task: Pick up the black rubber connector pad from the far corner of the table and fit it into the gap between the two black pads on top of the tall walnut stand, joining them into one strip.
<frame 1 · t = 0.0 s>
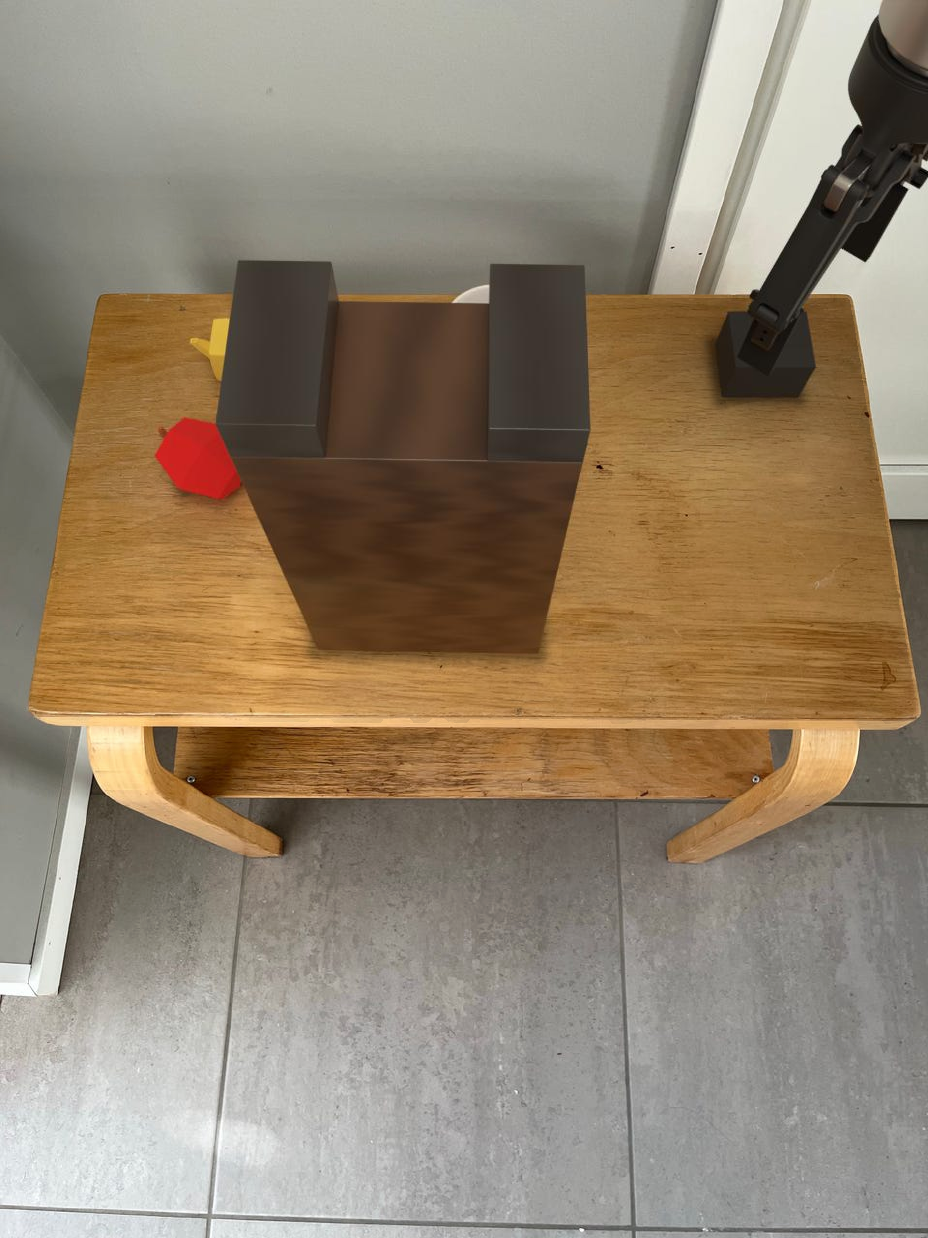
hand: (805, 305, 69), 15 cm above the table, tool pointing down, fingers open, 13 cm apart
mug: (477, 415, 83), on the table
apple: (210, 478, 81), on the table
teapot: (245, 374, 84), on the table
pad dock: (430, 595, 76), on the table
connector pad: (756, 370, 84), on the table
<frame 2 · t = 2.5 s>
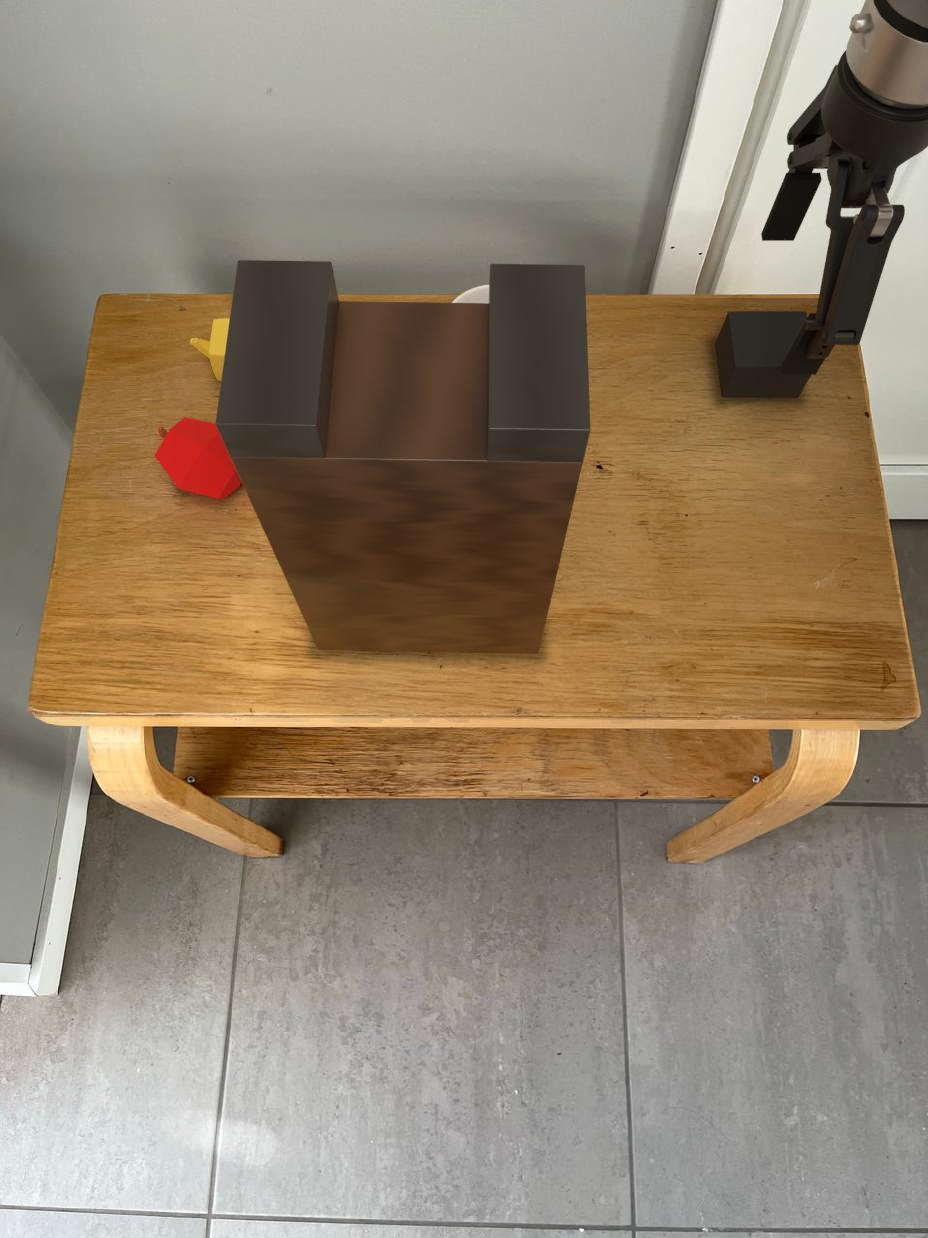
hand: (787, 302, 76), 9 cm above the table, tool pointing down, fingers open, 13 cm apart
nothing on the table moved.
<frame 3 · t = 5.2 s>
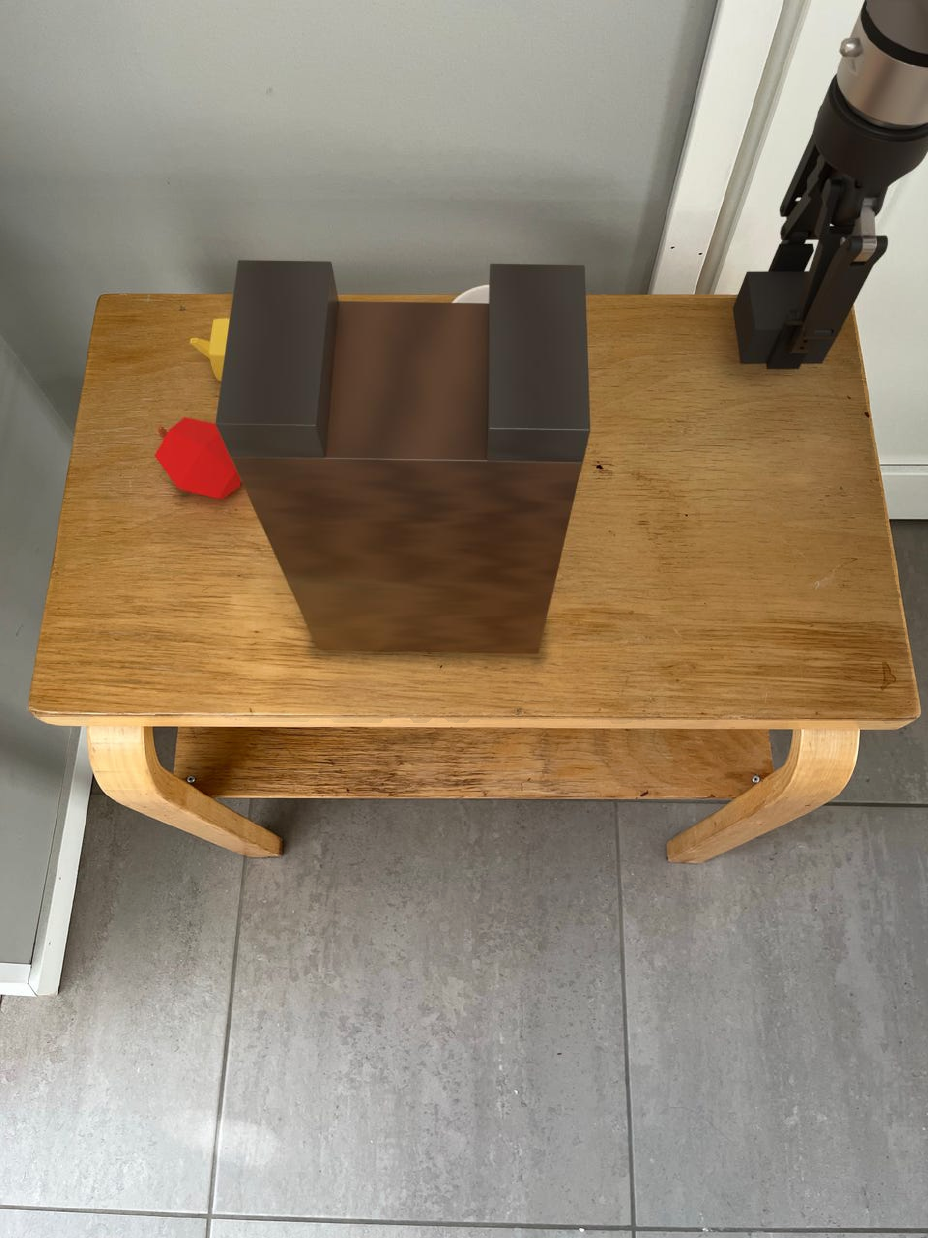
hand: (777, 333, 79), 6 cm above the table, tool pointing down, fingers closed on connector pad, 6 cm apart
connector pad: (776, 335, 79), point 5 cm above the table, touching gripper
everything else where it was.
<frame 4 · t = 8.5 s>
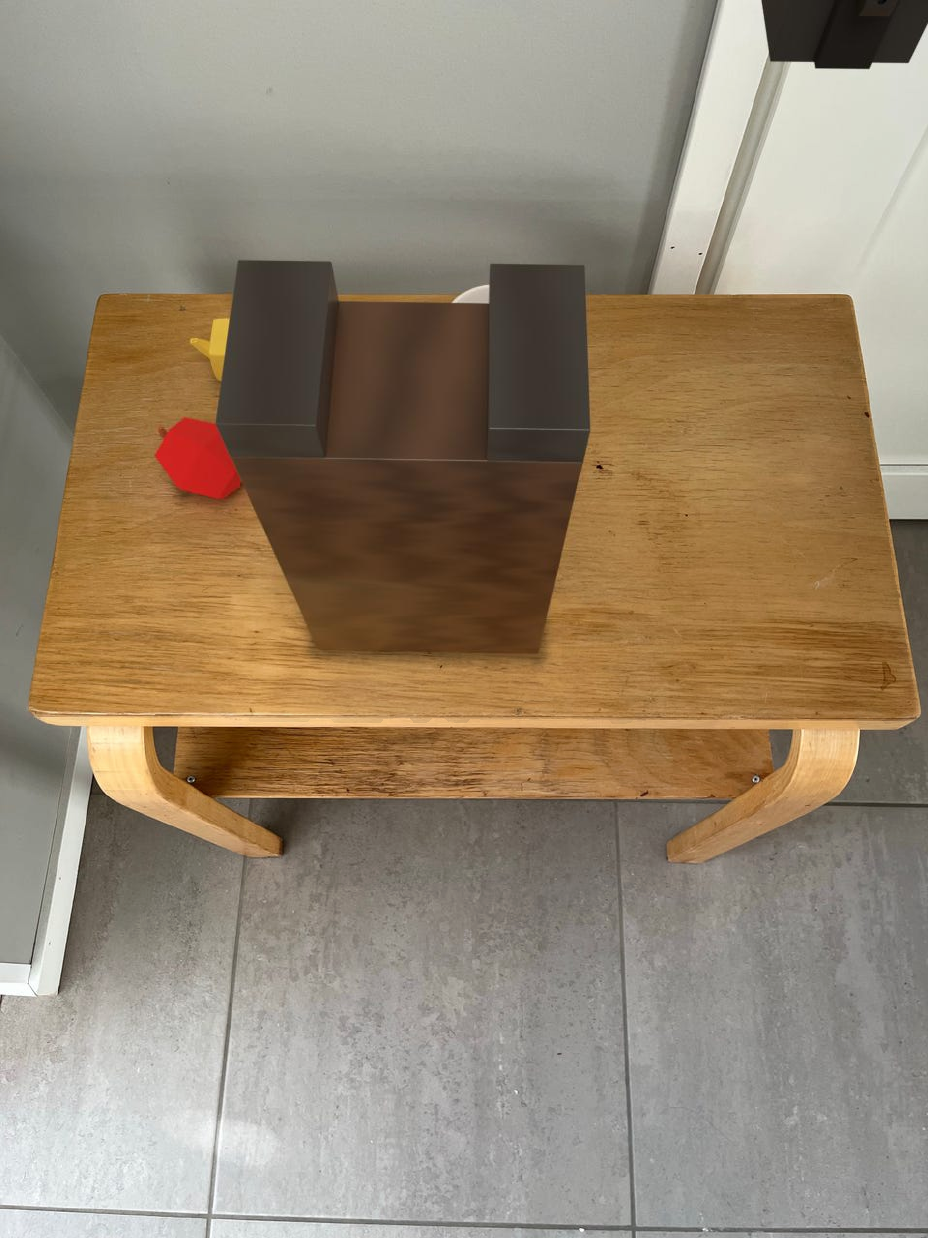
hand: (832, 15, 47), 38 cm above the table, tool pointing down, fingers closed on connector pad, 6 cm apart
connector pad: (831, 21, 47), point 38 cm above the table, touching gripper
everything else where it was.
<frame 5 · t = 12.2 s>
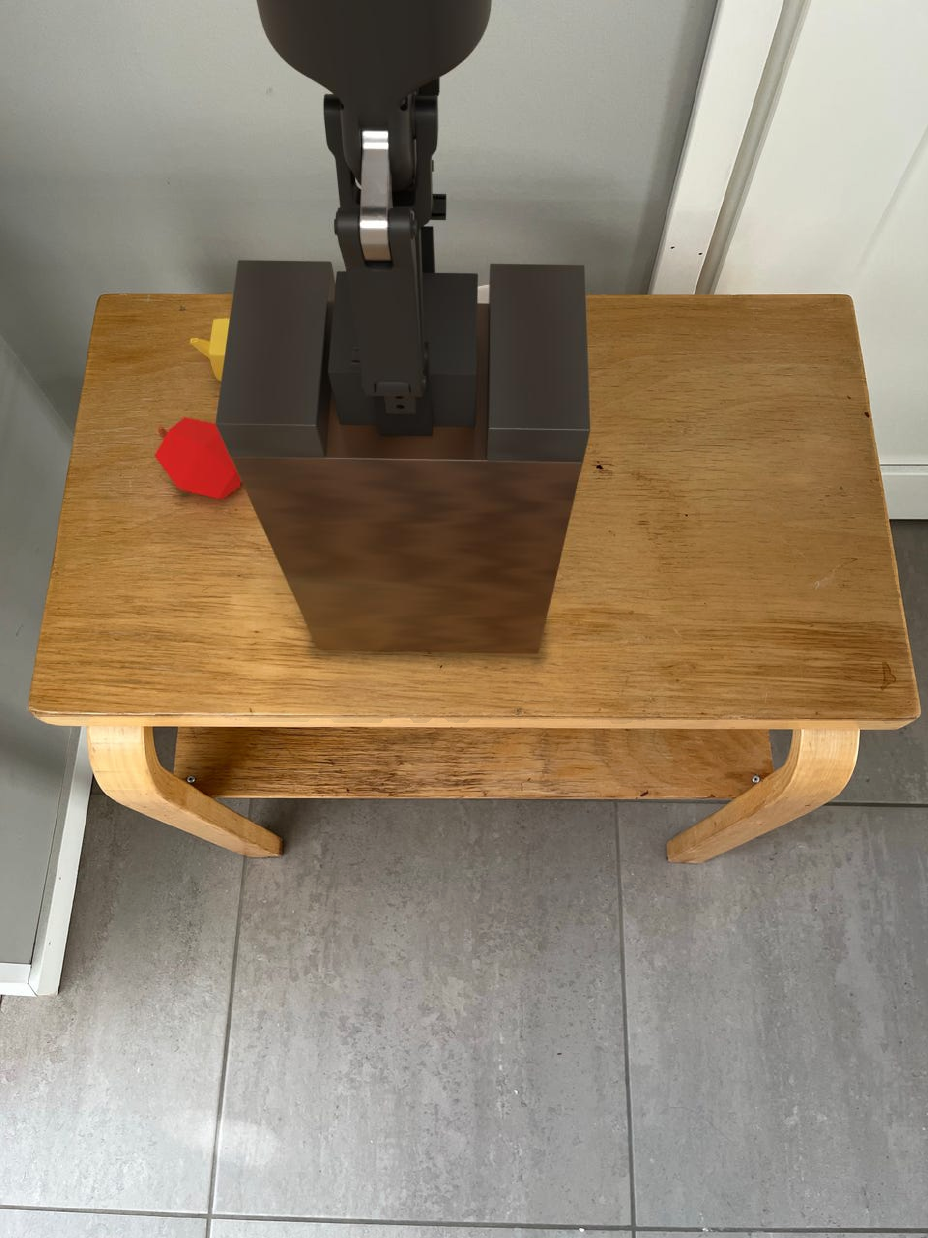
hand: (409, 373, 48), 30 cm above the table, tool pointing down, fingers closed on connector pad, 6 cm apart
connector pad: (409, 377, 48), point 30 cm above the table, touching gripper, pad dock
everything else where it was.
when the fingers open (30 cm above the table, at t = 12.4 s): connector pad stays where it is, resting on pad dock.
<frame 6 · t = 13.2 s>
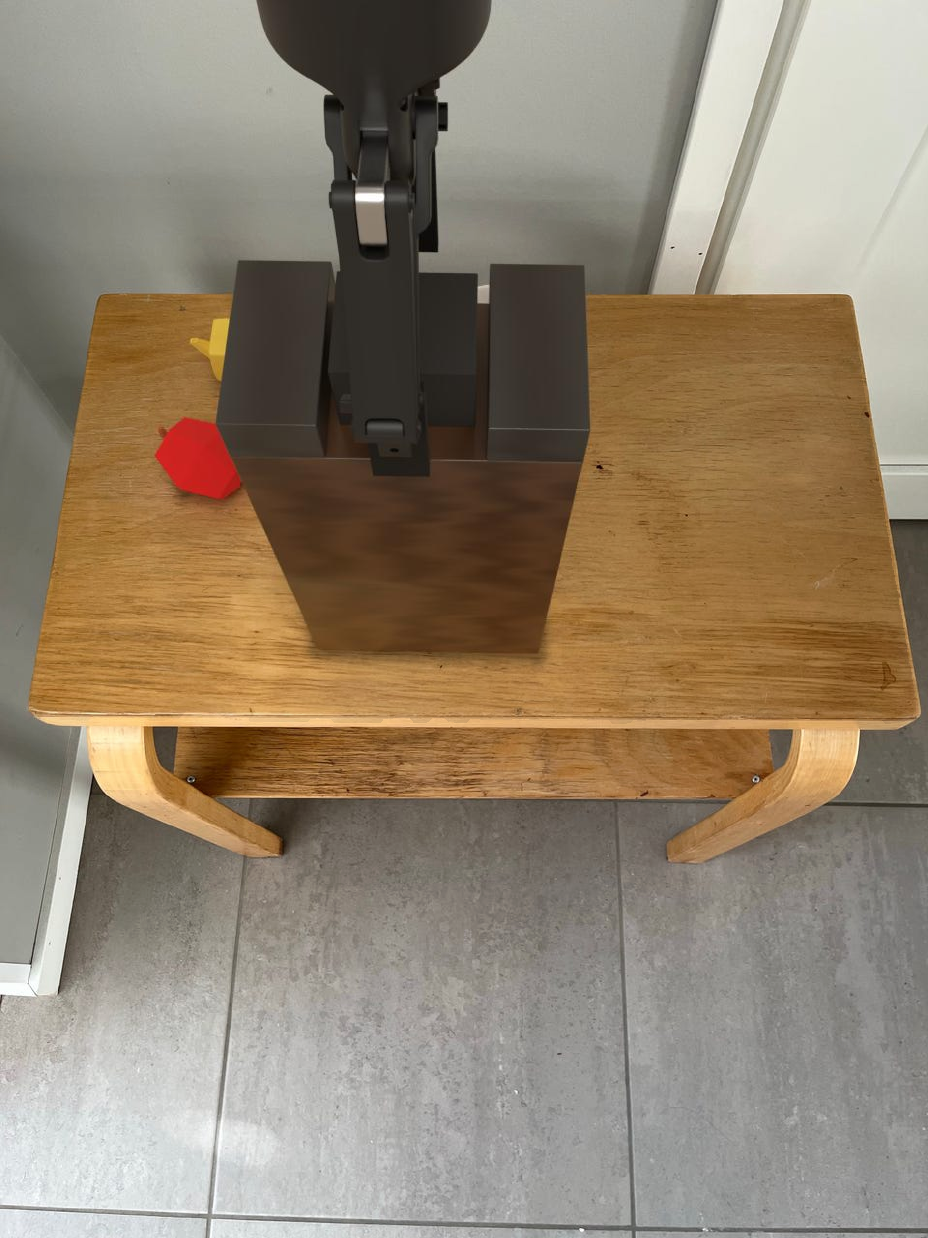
hand: (407, 352, 46), 32 cm above the table, tool pointing down, fingers open, 13 cm apart
connector pad: (409, 377, 48), point 30 cm above the table, touching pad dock
everything else where it was.
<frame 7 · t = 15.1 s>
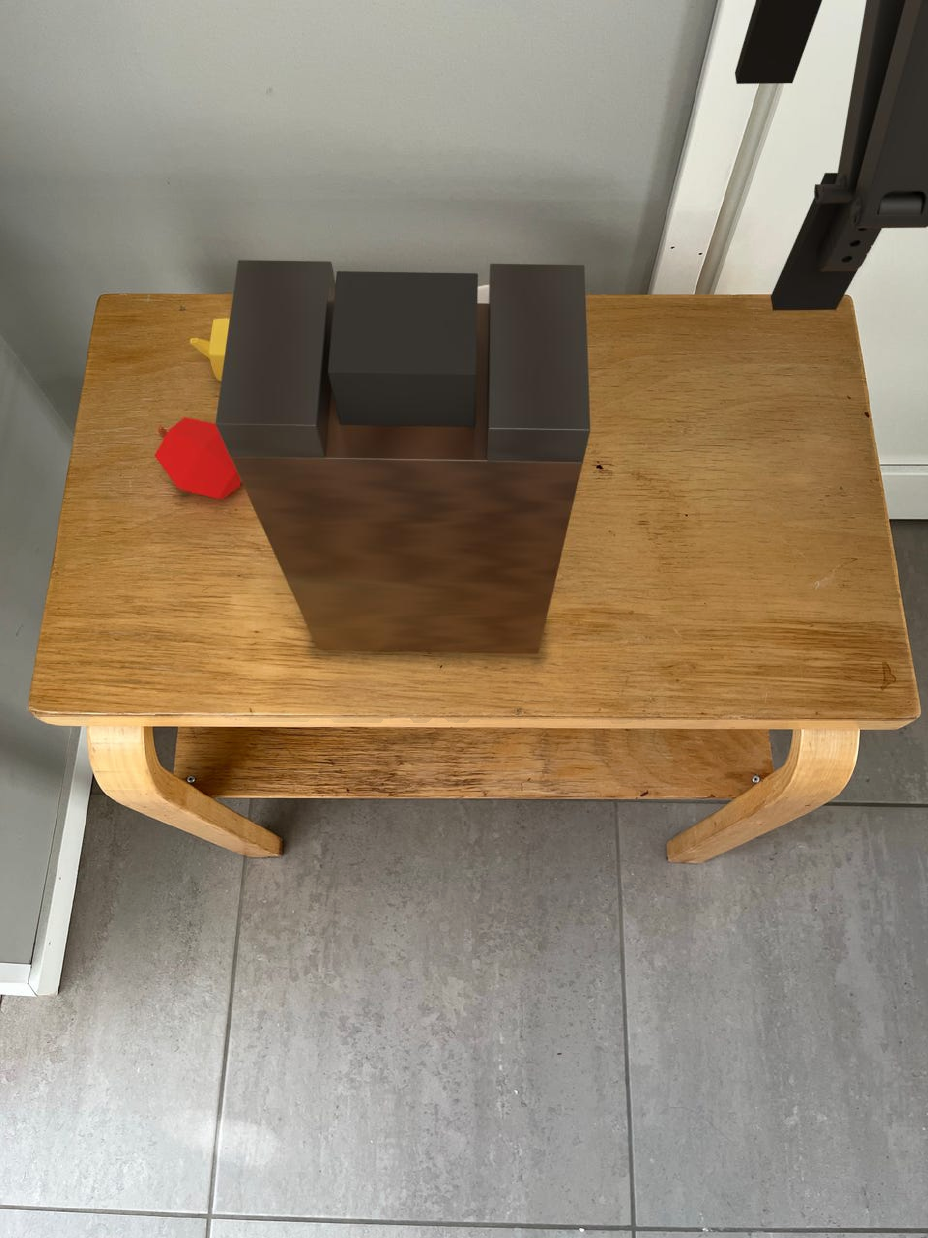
hand: (781, 184, 42), 39 cm above the table, tool pointing down, fingers open, 13 cm apart
nothing on the table moved.
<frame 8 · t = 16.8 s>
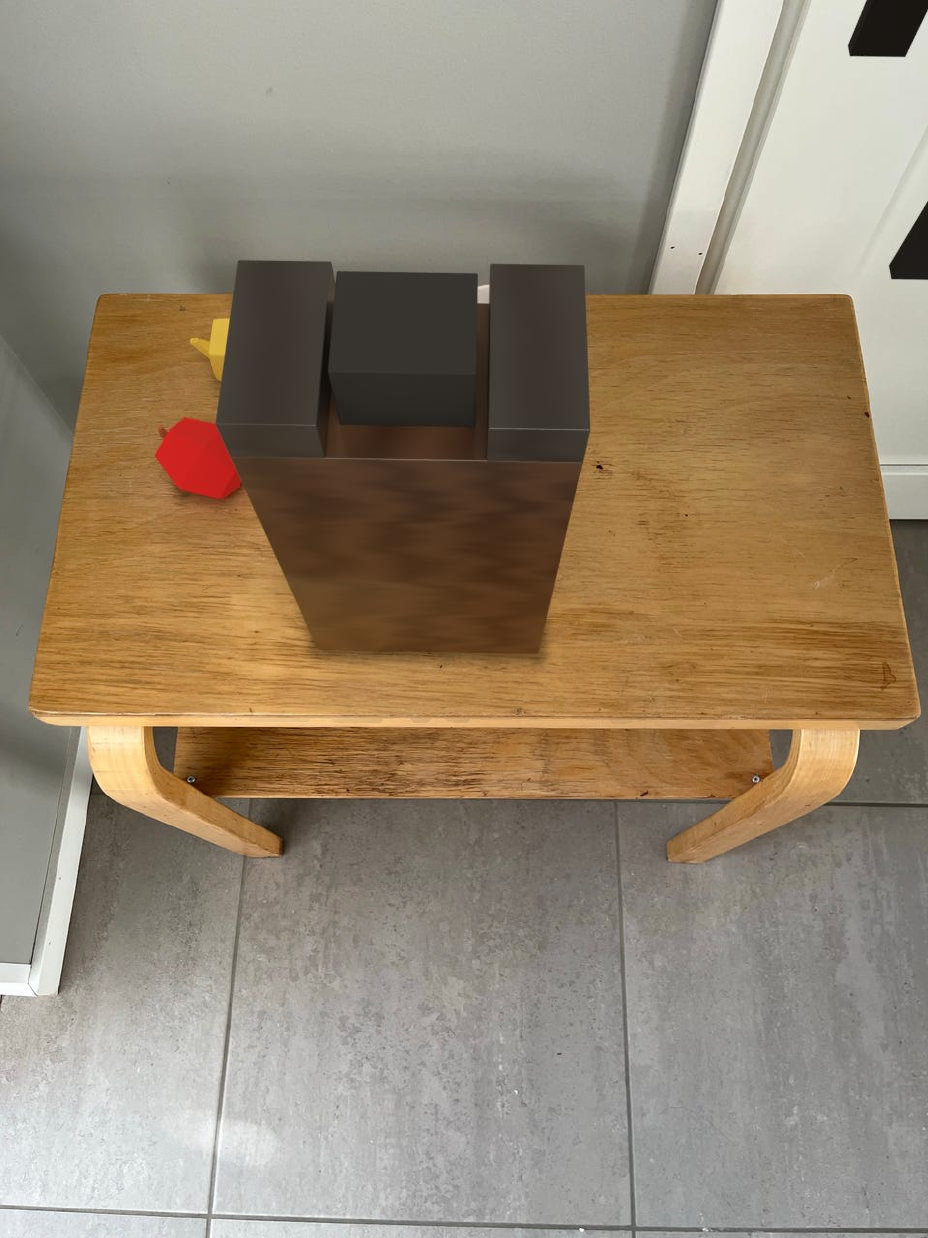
hand: (896, 156, 42), 39 cm above the table, tool pointing down, fingers open, 13 cm apart
nothing on the table moved.
at the end: connector pad 0.0 cm off-centre on the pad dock, point 30.0 cm above the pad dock's base; connector pad tilted 0° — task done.
